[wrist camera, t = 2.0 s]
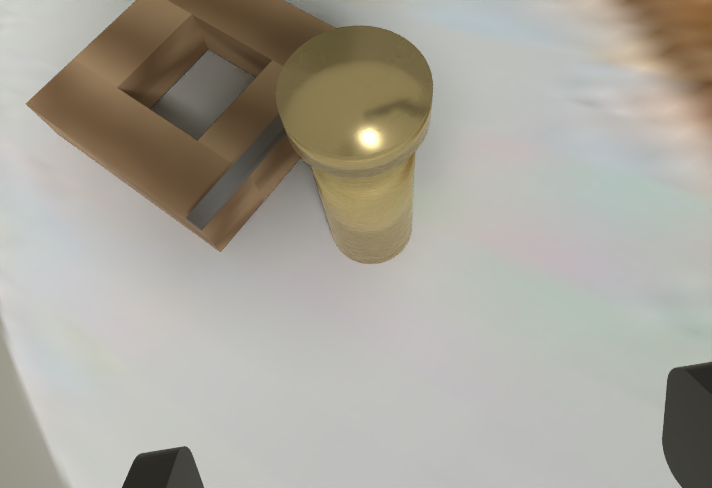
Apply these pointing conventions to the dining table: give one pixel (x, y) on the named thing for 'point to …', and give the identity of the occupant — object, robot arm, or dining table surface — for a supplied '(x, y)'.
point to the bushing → (359, 132)
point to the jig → (163, 139)
